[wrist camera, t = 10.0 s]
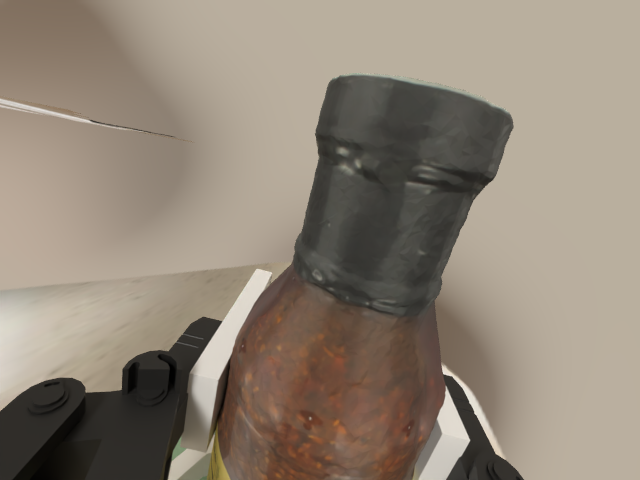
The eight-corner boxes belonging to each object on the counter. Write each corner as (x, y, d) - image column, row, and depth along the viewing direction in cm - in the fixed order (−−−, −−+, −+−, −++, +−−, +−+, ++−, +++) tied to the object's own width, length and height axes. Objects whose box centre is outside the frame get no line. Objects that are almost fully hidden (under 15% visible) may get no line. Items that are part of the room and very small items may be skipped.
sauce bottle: (349, 559, 14) (561, 154, 8) (285, 802, 9) (803, 108, 3) (242, 477, 16) (348, 103, 10) (136, 633, 11) (226, 13, 5)
